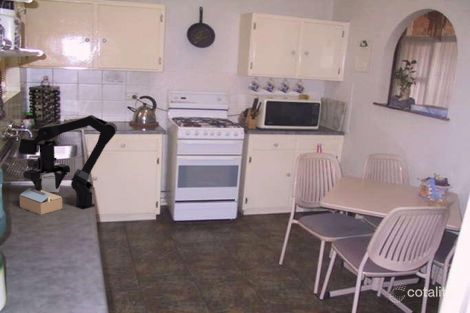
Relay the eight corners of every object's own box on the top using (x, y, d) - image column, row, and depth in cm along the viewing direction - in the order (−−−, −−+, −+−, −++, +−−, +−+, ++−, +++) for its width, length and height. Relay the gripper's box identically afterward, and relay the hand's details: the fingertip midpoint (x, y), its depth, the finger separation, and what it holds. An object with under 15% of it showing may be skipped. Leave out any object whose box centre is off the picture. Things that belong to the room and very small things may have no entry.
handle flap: (50, 195, 179) (49, 194, 178) (40, 202, 175) (40, 201, 175) (29, 188, 185) (29, 187, 185) (20, 195, 182) (19, 194, 182)
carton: (62, 209, 185) (62, 194, 183) (40, 215, 176) (40, 199, 175) (41, 201, 192) (41, 187, 190) (19, 207, 183) (19, 192, 182)
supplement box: (41, 192, 204) (41, 166, 201) (44, 188, 211) (43, 162, 208) (58, 192, 206) (58, 166, 203) (60, 187, 213) (60, 162, 210)
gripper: (54, 149, 196) (55, 182, 199) (14, 155, 180) (16, 191, 183) (70, 153, 190) (71, 187, 193) (31, 160, 174) (32, 197, 178)
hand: (48, 191), depth 187 cm, fingers open, 8 cm apart
